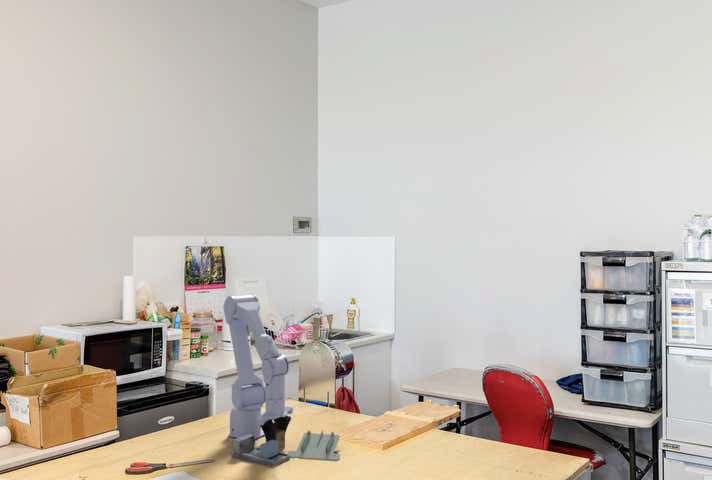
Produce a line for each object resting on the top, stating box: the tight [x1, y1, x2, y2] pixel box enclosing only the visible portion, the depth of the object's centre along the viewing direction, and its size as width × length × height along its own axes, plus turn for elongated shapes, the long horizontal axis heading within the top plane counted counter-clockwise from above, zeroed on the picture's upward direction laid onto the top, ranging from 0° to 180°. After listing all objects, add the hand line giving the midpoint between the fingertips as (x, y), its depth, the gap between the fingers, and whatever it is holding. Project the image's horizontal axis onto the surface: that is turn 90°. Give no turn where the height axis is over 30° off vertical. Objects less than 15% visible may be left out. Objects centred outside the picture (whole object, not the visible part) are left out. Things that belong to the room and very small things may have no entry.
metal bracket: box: [288, 430, 341, 462], centre depth 196 cm, size 14×6×15 cm
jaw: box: [259, 440, 280, 459], centre depth 189 cm, size 3×5×4 cm, turn 148°
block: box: [275, 429, 286, 451], centre depth 199 cm, size 4×4×5 cm
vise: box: [231, 434, 291, 467], centre depth 191 cm, size 15×8×5 cm, turn 58°
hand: (275, 443), depth 199 cm, fingers closed on block, 4 cm apart
